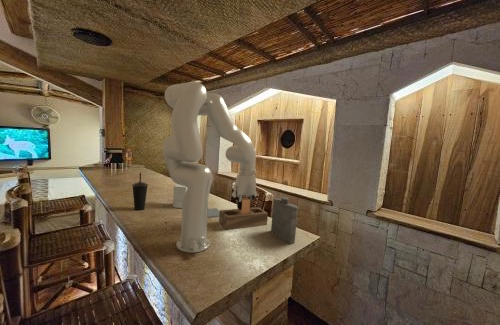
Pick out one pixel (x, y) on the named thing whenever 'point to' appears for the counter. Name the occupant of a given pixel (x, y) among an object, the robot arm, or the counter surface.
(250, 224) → the wooden compartment box
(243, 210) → the peg
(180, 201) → the supplement box
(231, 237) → the counter surface
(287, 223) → the flask
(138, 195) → the drinking cup
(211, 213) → the mat
